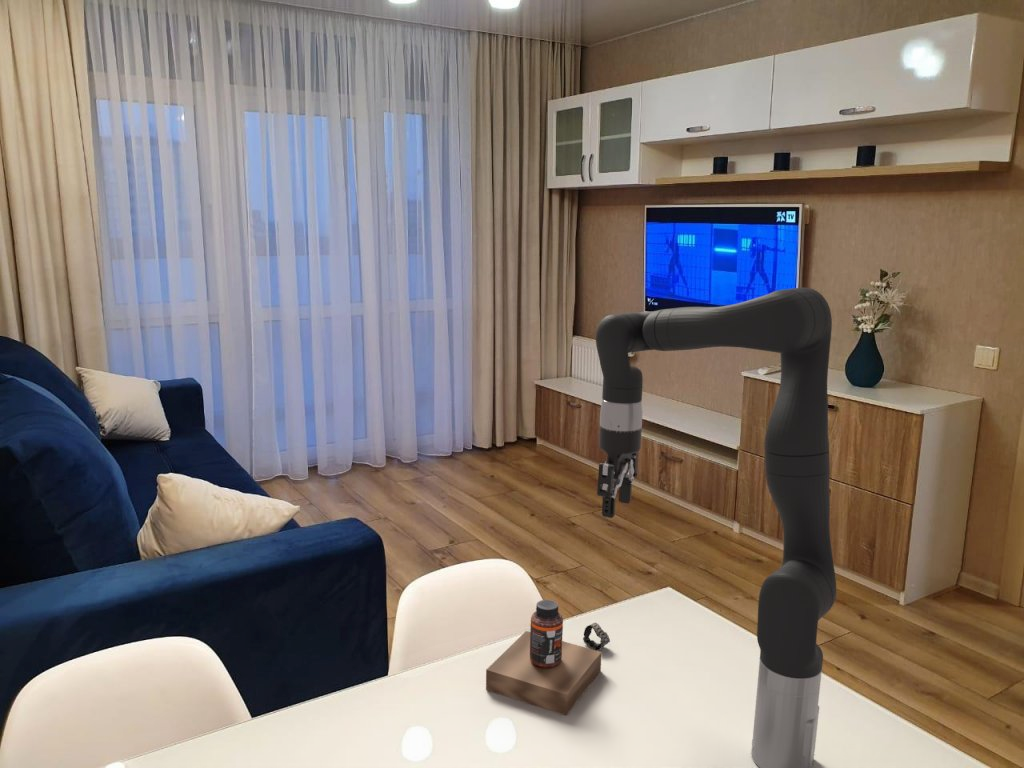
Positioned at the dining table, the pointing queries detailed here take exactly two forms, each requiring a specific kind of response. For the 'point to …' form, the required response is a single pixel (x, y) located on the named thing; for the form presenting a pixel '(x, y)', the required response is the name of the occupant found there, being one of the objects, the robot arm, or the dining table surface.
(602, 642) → the wristwatch
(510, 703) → the dining table surface
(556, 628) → the supplement bottle
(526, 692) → the walnut block
